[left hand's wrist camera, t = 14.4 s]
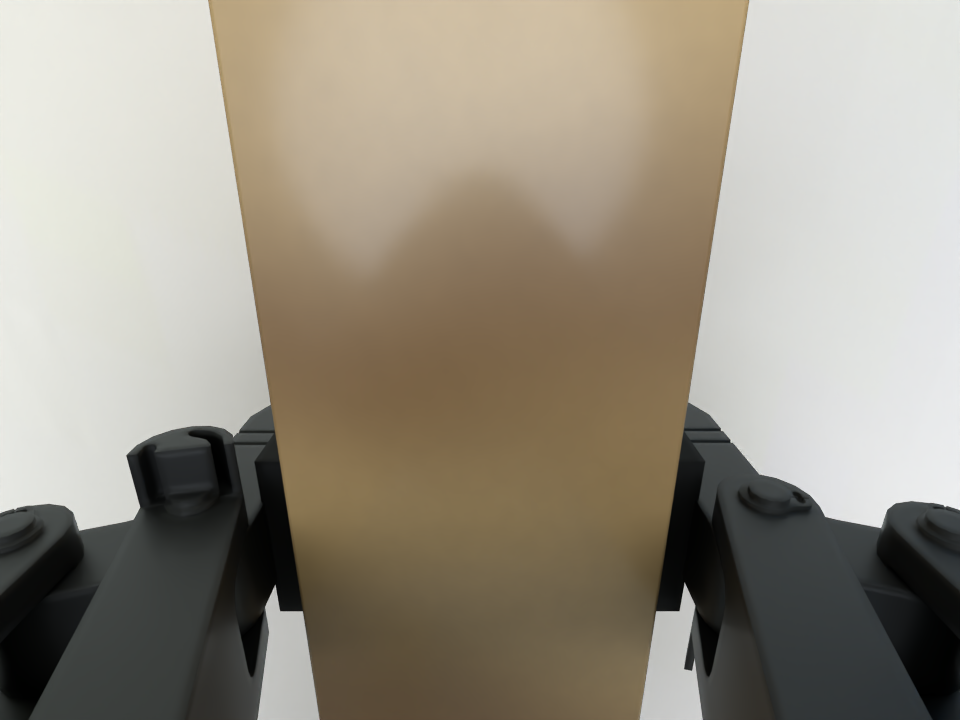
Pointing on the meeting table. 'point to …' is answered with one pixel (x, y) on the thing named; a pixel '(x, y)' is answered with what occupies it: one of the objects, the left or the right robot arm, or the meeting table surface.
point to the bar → (479, 329)
